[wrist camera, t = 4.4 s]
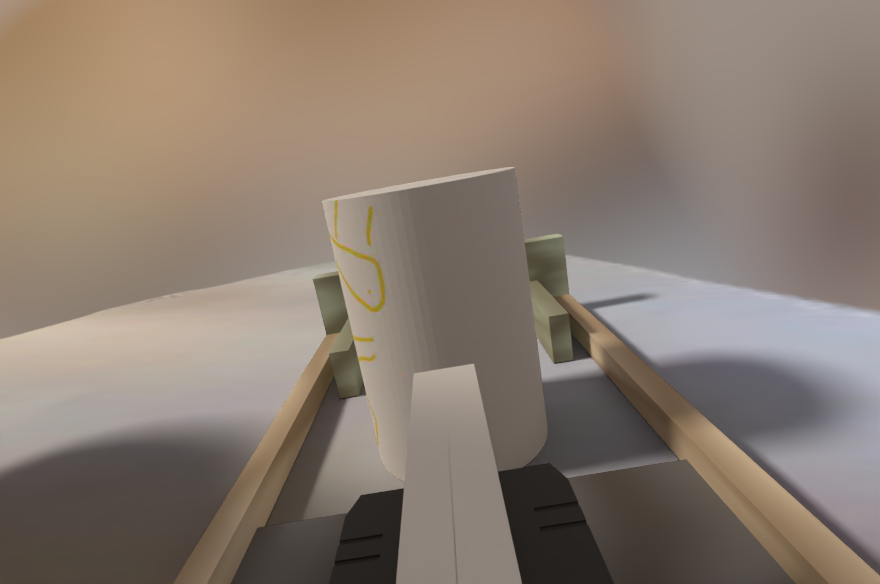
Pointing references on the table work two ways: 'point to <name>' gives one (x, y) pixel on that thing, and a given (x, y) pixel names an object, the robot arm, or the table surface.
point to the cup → (442, 303)
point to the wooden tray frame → (599, 495)
